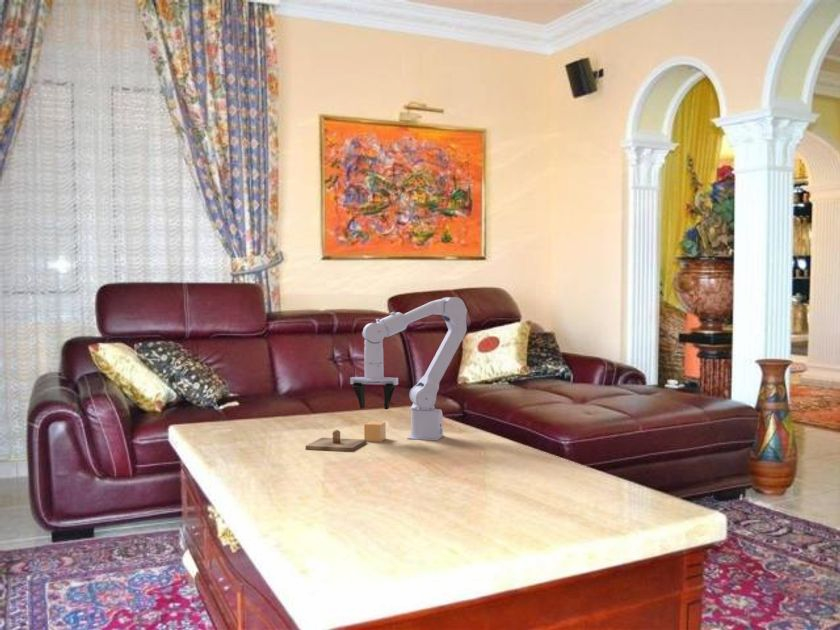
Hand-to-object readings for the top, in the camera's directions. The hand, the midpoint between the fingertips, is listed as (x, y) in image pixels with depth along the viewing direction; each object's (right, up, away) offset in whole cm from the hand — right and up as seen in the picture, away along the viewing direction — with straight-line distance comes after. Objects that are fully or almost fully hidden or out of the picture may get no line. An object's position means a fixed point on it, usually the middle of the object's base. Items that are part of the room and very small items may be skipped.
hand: (374, 408), depth 221 cm
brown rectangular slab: (-10, -10, -8) cm, 17 cm away
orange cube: (0, -9, 0) cm, 9 cm away
